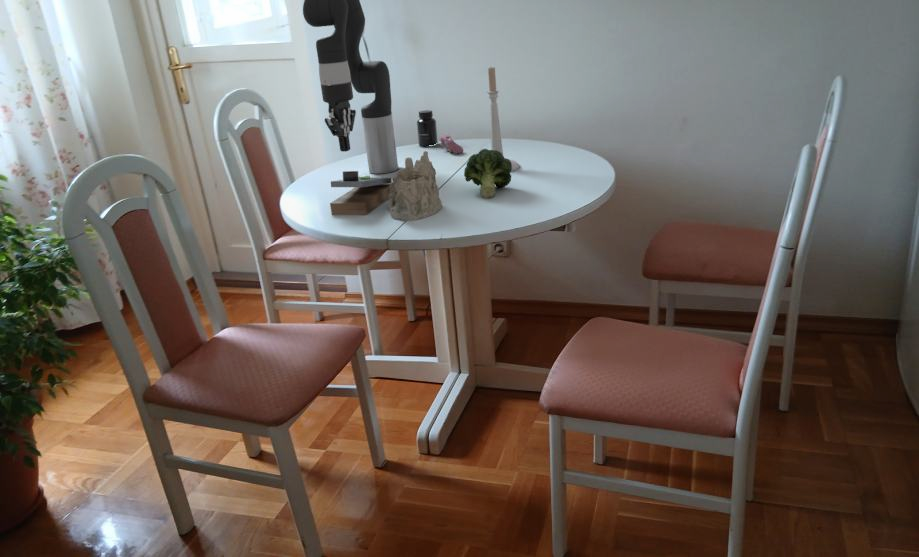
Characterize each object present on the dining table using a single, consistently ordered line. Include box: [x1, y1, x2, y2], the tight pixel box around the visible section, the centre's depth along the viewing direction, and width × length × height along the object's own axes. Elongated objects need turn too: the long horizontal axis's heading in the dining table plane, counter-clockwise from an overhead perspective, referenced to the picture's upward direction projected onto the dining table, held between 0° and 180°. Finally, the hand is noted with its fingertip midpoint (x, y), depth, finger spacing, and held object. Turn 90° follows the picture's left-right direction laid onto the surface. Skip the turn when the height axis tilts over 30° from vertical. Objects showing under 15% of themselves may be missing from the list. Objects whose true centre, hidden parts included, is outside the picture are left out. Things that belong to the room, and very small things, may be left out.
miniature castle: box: [387, 150, 443, 222], centre depth 188 cm, size 16×16×15 cm
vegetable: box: [463, 148, 512, 199], centre depth 199 cm, size 12×13×15 cm
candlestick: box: [486, 66, 520, 173], centre depth 219 cm, size 13×13×30 cm
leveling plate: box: [330, 170, 393, 188], centre depth 198 cm, size 18×9×4 cm, turn 162°
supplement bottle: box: [416, 109, 439, 147], centre depth 262 cm, size 7×7×12 cm
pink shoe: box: [439, 134, 464, 154], centre depth 250 cm, size 10×5×7 cm, turn 18°
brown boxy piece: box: [329, 177, 395, 216], centre depth 200 cm, size 20×13×5 cm, turn 162°
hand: (345, 150), depth 189 cm, fingers closed
